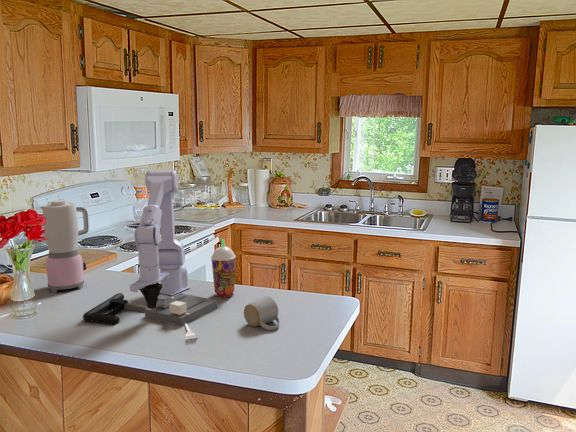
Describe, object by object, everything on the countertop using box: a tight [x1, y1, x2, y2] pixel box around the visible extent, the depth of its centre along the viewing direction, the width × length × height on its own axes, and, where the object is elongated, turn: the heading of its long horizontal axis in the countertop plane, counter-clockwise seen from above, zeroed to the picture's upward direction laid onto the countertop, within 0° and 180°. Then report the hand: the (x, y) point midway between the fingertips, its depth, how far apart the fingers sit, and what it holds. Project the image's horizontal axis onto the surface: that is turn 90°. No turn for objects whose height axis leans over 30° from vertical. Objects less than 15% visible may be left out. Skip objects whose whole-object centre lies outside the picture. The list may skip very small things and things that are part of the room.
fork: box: [184, 323, 198, 341], centre depth 151 cm, size 3×20×2 cm, turn 19°
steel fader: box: [156, 294, 172, 308], centre depth 162 cm, size 3×4×3 cm
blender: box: [39, 199, 90, 293], centre depth 187 cm, size 16×12×32 cm
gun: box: [82, 292, 148, 326], centre depth 164 cm, size 3×20×16 cm
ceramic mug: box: [243, 295, 280, 331], centre depth 153 cm, size 11×8×8 cm
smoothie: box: [210, 238, 237, 298], centre depth 178 cm, size 8×8×20 cm
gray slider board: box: [144, 292, 218, 327], centre depth 164 cm, size 17×15×3 cm
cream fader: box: [169, 301, 187, 315], centre depth 156 cm, size 3×4×3 cm
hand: (151, 307), depth 158 cm, fingers closed
